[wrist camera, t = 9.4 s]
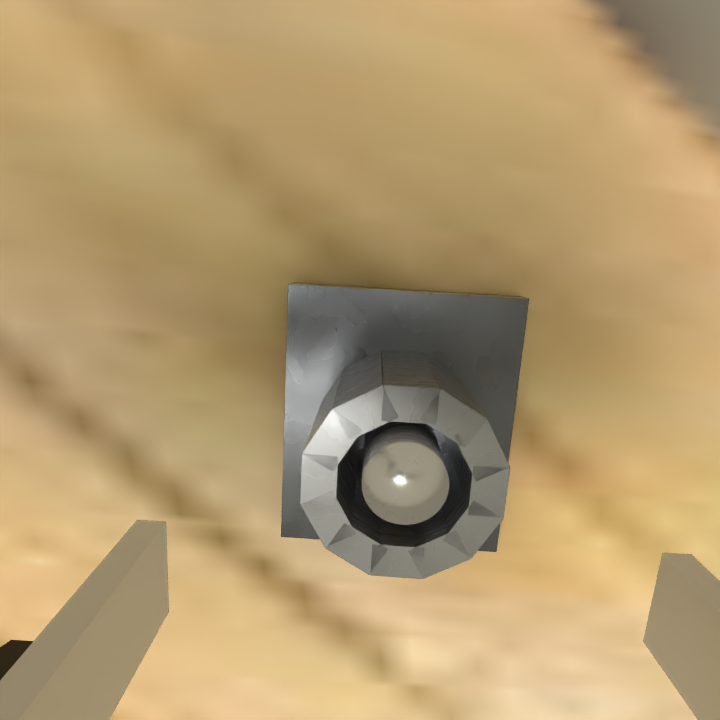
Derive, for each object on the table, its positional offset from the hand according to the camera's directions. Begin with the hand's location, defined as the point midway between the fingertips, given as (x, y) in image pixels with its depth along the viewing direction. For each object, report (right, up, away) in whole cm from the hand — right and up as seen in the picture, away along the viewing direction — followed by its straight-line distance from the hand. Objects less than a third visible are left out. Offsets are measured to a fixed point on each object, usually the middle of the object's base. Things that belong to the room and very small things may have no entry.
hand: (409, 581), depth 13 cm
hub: (+1, +2, +13) cm, 13 cm away
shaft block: (+1, +3, +14) cm, 15 cm away
